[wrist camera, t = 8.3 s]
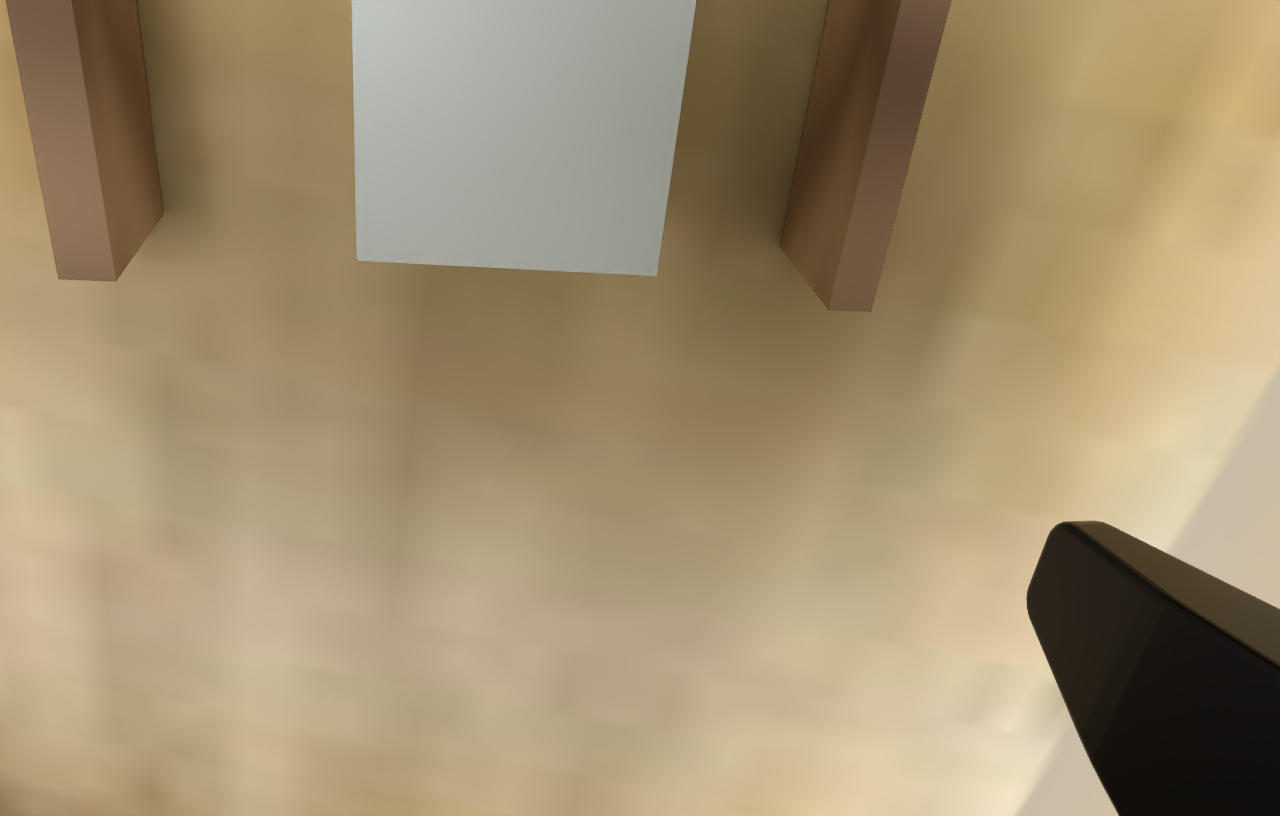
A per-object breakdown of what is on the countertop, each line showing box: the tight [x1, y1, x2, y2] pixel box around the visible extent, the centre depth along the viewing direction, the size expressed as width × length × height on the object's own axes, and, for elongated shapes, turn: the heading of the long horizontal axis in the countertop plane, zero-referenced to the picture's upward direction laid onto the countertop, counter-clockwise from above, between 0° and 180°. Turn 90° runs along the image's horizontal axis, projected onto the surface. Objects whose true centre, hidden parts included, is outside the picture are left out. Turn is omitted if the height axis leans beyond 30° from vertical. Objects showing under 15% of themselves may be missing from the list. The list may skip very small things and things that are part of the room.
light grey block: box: [352, 0, 696, 276], centre depth 15 cm, size 6×4×5 cm
